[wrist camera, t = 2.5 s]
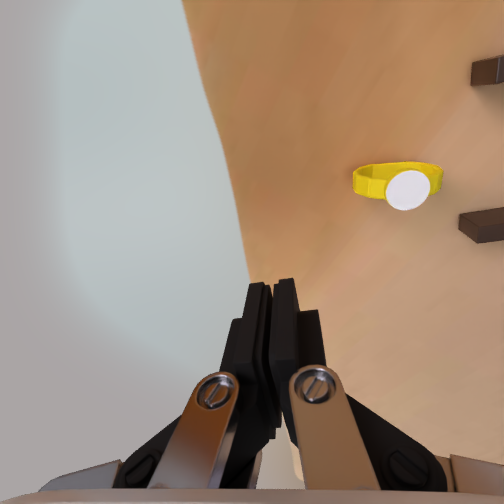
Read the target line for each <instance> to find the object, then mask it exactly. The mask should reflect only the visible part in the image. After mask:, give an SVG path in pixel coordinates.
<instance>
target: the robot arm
mask: <svg viewBox="0 0 504 504" xmlns="http://www.w3.org/2000/svg"><path fill="white" fill-rule="evenodd" d="M282 412H283V416H284V420H285V423H286V427H287V429H288V432H289V436H290V439H291V442H292V443H293V444H294V445H295V446H296V447H297V448H298V449H299V454H300V459H301V465H302V471H303V477H304V483H305V489H306V490H302V489H301V490H300V489H297V490H296V489H256V484H257V479H258V475H259V470H260V465H261V461H262V448H263V447H264V446H265V445H266V444H267V443H268V442H269V439H275V435H276V428H281V423H282ZM0 504H504V465H501V464H496V463H491V462H486V461H481V460H476V459H471V458H467V457H462V456H457V455H452V454H450V458H445V457H440V456H436V455H433V454H432V453H431V452H430V451H429V450H427V449H426V448H425V447H424V446H422V445H421V444H420V443H418V442H417V441H415V440H414V439H412V438H411V437H409V436H408V435H406V434H405V433H403V432H402V431H400V430H399V429H398V428H396V427H395V426H393V425H392V424H390V423H389V422H387V421H386V420H384V419H383V418H381V417H380V416H378V415H377V414H376V413H374V412H373V411H371V410H370V409H368V408H367V407H365V406H364V405H362V404H361V403H359V402H358V401H356V400H355V399H353V398H352V397H351V396H349V395H348V394H346V393H345V391H344V388H343V386H342V383H341V380H340V379H339V377H338V375H337V374H336V373H335V372H334V371H333V370H332V369H330V368H328V367H327V366H326V359H325V352H324V345H323V338H322V332H321V325H320V319H319V313H318V309H317V310H308V311H300V309H299V304H298V299H297V293H296V288H295V283H294V279H293V278H288V279H281V280H279V284H274V291H273V296H272V292H271V288H270V285H265V284H264V282H258V283H251V284H249V288H248V292H247V297H246V302H245V307H244V311H243V316H242V318H237V319H233V320H232V323H231V327H230V331H229V334H228V338H227V343H226V347H225V350H224V355H223V358H222V362H221V366H220V370H219V372H215V373H213V374H210V375H208V376H206V377H205V378H203V379H202V380H201V381H200V382H199V383H198V384H197V386H196V387H195V389H194V390H193V392H192V394H191V397H190V399H189V401H188V403H187V405H186V407H185V409H184V411H183V413H182V415H180V416H179V417H178V418H177V419H175V420H174V421H173V422H172V423H171V424H169V425H168V426H167V427H165V428H164V429H163V430H162V431H160V432H159V433H158V434H156V435H155V436H154V437H153V438H151V439H150V440H149V441H148V442H146V443H145V444H144V445H143V446H141V447H140V448H139V449H138V450H136V451H135V452H134V453H133V454H132V455H131V456H130V457H129V458H128V459H127V460H126V461H125V462H123V463H122V462H121V460H120V459H119V460H115V461H112V462H109V463H105V464H101V465H98V466H94V467H90V468H87V469H83V470H80V471H76V472H73V473H69V474H66V475H62V476H59V477H57V478H55V479H53V480H51V481H49V482H48V483H47V484H46V485H44V486H43V487H42V488H41V489H40V490H39V491H38V492H36V493H31V494H25V495H21V496H18V497H15V498H11V499H8V500H5V501H2V502H0Z"/></svg>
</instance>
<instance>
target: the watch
mask: <svg viewBox="0 0 504 504" xmlns="http://www.w3.org/2000/svg"><path fill="white" fill-rule="evenodd" d="M442 177H443V170H442V169H441V168H440V167H439V166H437V165H433V164H428V163H423V162H408V161H407V162H406V161H404V162H396V163H383V164H369V165H366V166H362V167H360V168H358V169H356V170H355V171H354V172H353V189H354V191H355V192H356V193H357V194H359V195H362V196H365V197H368V198H369V197H370V198H375V199H384V200H386V201H387V202H388V204H389V205H390V206H392V207H393V208H395V209H398V210H409V209H413V208H415V207H417V206H419V205H420V204H421V203H423V202H424V201H425V199H426V198H427V196H430V195H433V194H435V193H436V192H437V191H438V190H439V189H440V188H441V183H442Z"/></svg>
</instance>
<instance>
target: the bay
mask: <svg viewBox="0 0 504 504" xmlns="http://www.w3.org/2000/svg"><path fill="white" fill-rule="evenodd" d="M503 82H504V55H500V56H496V57H492V58H488V59H484V60H480V61H476V62H473V63H472V75H471V86H475V85H490V84H499V83H503ZM459 230H460V231H461V232H463V233H464V234H465V235H467V236H468V237H469V238H471V239H472V240H473V241H474V242H476V243H477V244H479V243H486V242H494V241H501V240H504V207H503V208H496V209H490V210H484V211H477V212H471V213H465V214H460V220H459Z"/></svg>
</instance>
